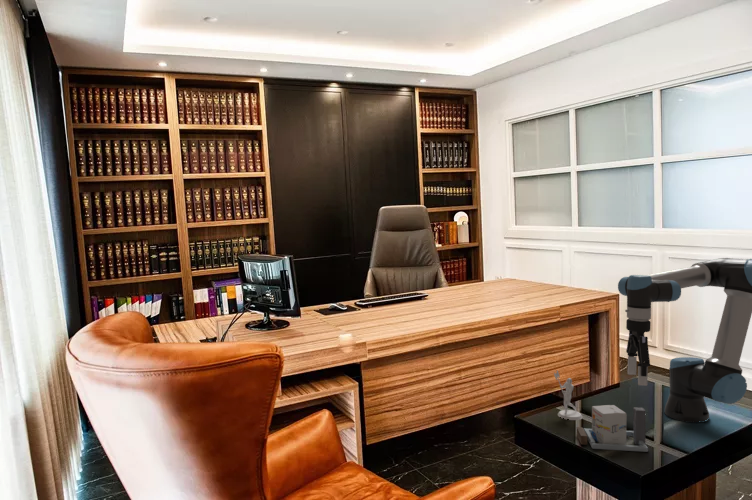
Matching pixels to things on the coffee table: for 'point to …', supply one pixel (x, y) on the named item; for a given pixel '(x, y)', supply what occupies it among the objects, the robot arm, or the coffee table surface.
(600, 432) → the ink box
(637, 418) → the sled
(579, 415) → the figurine
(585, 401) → the coffee table surface
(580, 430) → the lane end block
